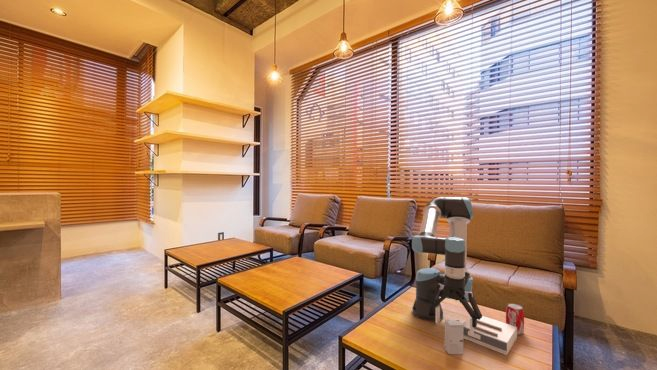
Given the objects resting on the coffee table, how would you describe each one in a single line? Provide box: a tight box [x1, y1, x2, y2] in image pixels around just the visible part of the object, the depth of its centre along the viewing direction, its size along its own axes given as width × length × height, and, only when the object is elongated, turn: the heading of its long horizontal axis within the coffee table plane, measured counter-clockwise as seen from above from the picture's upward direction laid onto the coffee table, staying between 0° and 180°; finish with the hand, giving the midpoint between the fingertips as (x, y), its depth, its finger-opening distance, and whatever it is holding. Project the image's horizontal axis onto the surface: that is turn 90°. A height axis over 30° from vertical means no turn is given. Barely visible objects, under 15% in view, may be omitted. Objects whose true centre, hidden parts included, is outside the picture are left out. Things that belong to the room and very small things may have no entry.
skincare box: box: [443, 319, 464, 355], centre depth 114 cm, size 6×4×12 cm
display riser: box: [462, 315, 518, 356], centre depth 123 cm, size 18×18×6 cm
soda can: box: [505, 302, 525, 336], centre depth 128 cm, size 7×7×12 cm
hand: (453, 327), depth 113 cm, fingers open, 13 cm apart
